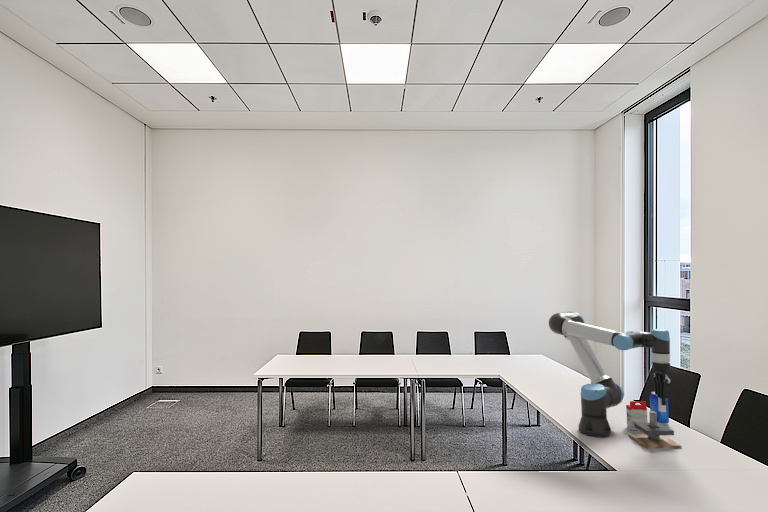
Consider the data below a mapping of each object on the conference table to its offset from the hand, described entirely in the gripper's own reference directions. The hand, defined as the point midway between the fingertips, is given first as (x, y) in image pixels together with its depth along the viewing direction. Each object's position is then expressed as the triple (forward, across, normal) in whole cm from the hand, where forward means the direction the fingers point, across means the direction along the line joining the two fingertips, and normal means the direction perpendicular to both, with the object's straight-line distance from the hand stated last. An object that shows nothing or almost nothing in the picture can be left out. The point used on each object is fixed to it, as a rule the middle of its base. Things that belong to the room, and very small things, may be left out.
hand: (662, 411), depth 218 cm
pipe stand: (+14, -1, +4) cm, 15 cm away
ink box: (+15, +18, +2) cm, 24 cm away
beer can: (+15, +26, -14) cm, 33 cm away
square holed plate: (+9, -1, +5) cm, 10 cm away
